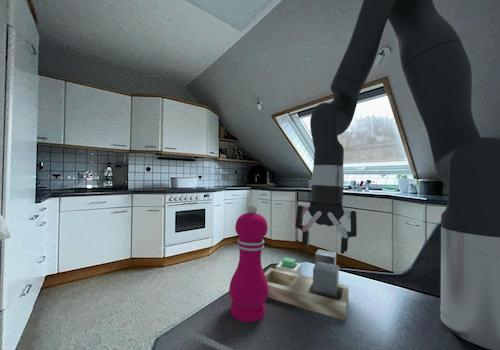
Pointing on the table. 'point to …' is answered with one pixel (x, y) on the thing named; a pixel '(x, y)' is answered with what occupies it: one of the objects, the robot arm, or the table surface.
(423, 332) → the table surface
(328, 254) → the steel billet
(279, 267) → the button housing
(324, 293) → the block
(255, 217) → the pepper mill
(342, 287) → the wooden tray
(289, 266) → the button
